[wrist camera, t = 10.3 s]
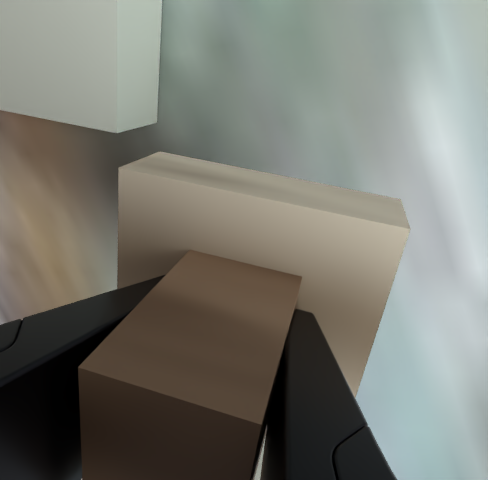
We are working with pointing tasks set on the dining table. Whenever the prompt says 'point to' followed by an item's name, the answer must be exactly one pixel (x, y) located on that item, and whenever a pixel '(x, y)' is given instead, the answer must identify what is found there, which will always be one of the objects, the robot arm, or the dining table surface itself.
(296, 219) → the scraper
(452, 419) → the dining table surface
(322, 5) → the dining table surface
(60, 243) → the dining table surface
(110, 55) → the deck
